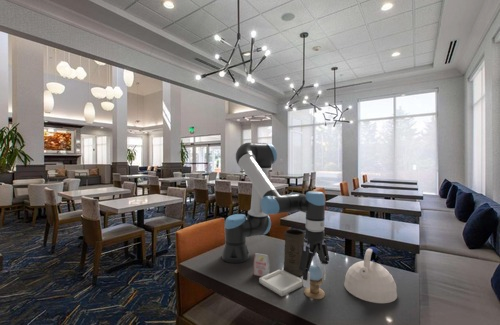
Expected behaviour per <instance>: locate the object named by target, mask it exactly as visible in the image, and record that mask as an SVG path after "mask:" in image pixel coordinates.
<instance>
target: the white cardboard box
mask: <svg viewBox="0 0 500 325" xmlns="http://www.w3.org/2000/svg"><path fill="white" fill-rule="evenodd" d="M270 263H271V262H270V258H269V255H268V254H264V253H257V252H255V253H254V258H253V276H257V277H263V276H265V275H267V274H270V272H271V271H270V267H271V266H270V265H271V264H270Z"/></svg>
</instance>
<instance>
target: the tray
mask: <svg viewBox="0 0 500 325" xmlns="http://www.w3.org/2000/svg"><path fill="white" fill-rule="evenodd" d="M258 283H259V284H260V285H262V286H264V287H266V288H267V289H268V290H270V291H272V292H274V293H276V294H277V295H278V296H280V297H284V296H286V295H288V294H291V293H292V292H294V291H296V290H298V289H299V288H301V287H304V286H303V278H301V277H299V276H294V275H292V274H290V273H288V272H286V271H284V270H283V269H282V268H280V269H277V270H275V271H272V272H269V274H267V275H265V276H263V277H261V276H259V278H258Z"/></svg>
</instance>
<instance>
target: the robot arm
mask: <svg viewBox="0 0 500 325" xmlns="http://www.w3.org/2000/svg"><path fill="white" fill-rule="evenodd" d="M277 159H278V153H277V150H276V147H275V146H274V145H273V144H272V143H268V142H245V143H243V144H241V145H240V146H239V147H238V148H237V149H236V153H235V161H236V164H237V165H238V167H239V168H240V169H242V170H243V171H244V173H245V175H246V176H247V178H248V179H249V180H250V182H251V184H252V188H251V199H250V200H251V201H250V209H249V210H248V211H247V216H246V214H242V213H235V214H232V215H229V216H228V217H226V218H225V220H224V246H223V250H222V252H221V259H222V260H223V261H224V262H226V263H229V264H230V263H231V264H239V263H244V262H246V261H247V260H249V259H250V253H249V250H248V249H249V248H248V246H247V238H252V237H257V236H263V235H267V234H268V233H269V232H270V229H271V226H272V221H271V217H270V216H269V215H277V214H282V213H283V214H285V213H291V212H292V213H293V212H297V211H298V212H302V213H305V238H306V240H307V243H306V245H305V244H304V245H302V255H301V260H300V266H299V270H300V271H302V272H303V275H302V280H303V286H302V287H304V288H305V289H306V288H308V289H309V288H310V272H309V268H310V266H312V261H313V258H314V257H315V256H316V253H317V256H318V259H319V261H320V262H319V263H318V267H319V268H320V269H321V271H322V277H321V278H322V281H323V280H324V281H325V280H326V270H327V269H326V268H327V267H326V266H327V265H329V261H330V256H329V251H328V240H327V239H325V236H326V235H325V226H326V225H325V220H326V219H325V218H326V217H325V216H326V214H325V212H326V210H325V209H326V197H325V193H324V192H322V191H316V190H315V191H314V190H312V191H311V190H310V191H307V192H306V193H305V194H303V193H300V192H290V193H289V194H280V193H279V192H278V190H277V189H276V188H275V186H274V184H273V183H272V182H271V181H270V179H269V173H270V172H269V171H270V170H271V169H272V167H273V164H275V163H276V162H277Z"/></svg>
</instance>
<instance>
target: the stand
mask: <svg viewBox="0 0 500 325" xmlns="http://www.w3.org/2000/svg"><path fill="white" fill-rule="evenodd" d="M322 284H323V279H322V278H321V279H320V280H318V281H312V280H311V279H310V288H309V289H308V288H306V287H305V288H304V294H305V296H306V297H307V298H310V299H313V300H321V299H323V298H324V297H326V296H325V295H326V294H325V291H324V290H323V289H322V288H320V286H321V285H322Z"/></svg>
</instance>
